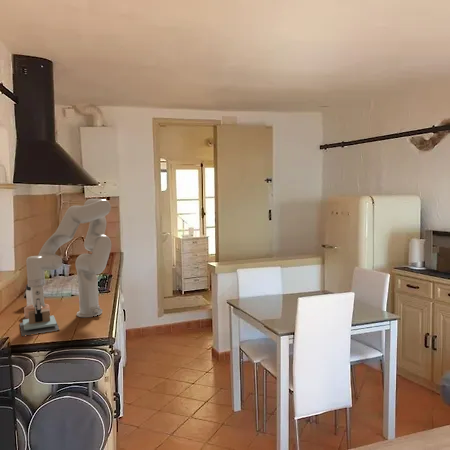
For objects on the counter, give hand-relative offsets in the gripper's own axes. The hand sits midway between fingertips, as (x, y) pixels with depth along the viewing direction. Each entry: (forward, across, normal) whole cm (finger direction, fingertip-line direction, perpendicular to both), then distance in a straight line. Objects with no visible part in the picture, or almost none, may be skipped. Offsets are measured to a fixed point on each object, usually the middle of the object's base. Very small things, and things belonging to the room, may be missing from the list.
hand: (38, 319), depth 214 cm
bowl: (+4, +20, -1) cm, 20 cm away
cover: (+2, 0, 0) cm, 2 cm away
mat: (+4, 0, 0) cm, 4 cm away
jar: (+4, +42, -1) cm, 43 cm away
